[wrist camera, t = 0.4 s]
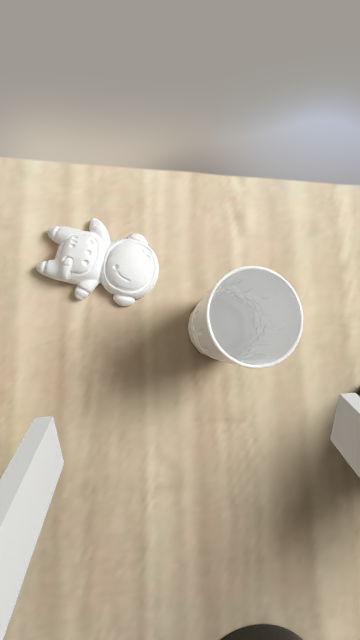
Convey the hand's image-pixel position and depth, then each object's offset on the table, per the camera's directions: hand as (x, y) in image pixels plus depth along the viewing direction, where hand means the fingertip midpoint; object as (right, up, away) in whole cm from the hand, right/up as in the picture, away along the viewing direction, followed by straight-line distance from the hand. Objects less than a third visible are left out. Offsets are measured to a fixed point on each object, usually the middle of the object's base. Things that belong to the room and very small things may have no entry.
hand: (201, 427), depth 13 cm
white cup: (+3, +4, +19) cm, 19 cm away
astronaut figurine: (-10, +11, +18) cm, 23 cm away
